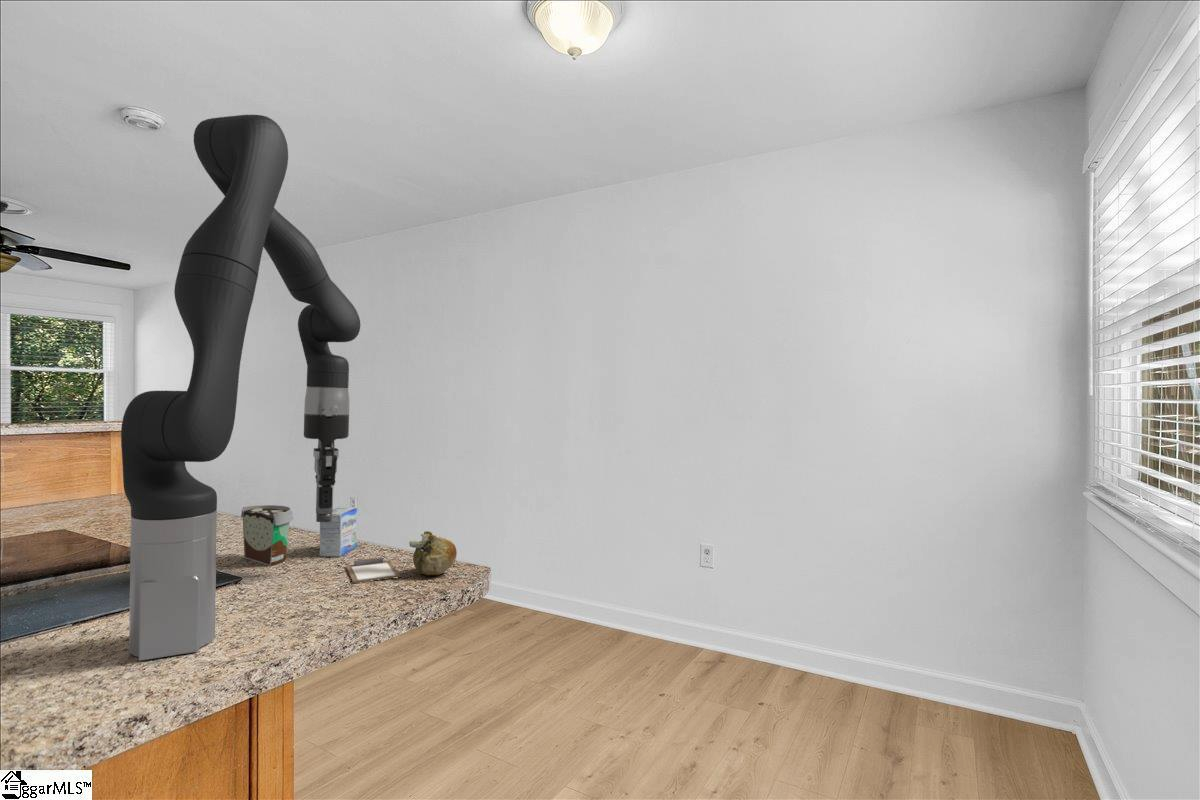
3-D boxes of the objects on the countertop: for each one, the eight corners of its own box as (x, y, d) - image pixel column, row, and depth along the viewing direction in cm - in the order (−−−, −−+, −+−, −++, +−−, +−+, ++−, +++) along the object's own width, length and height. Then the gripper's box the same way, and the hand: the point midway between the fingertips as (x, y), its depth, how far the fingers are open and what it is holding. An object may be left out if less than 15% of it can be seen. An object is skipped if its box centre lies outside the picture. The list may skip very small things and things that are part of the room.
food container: (305, 560, 118) (306, 509, 118) (274, 567, 113) (275, 514, 113) (271, 550, 125) (271, 502, 125) (240, 557, 120) (241, 506, 120)
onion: (447, 581, 107) (448, 536, 107) (404, 578, 108) (405, 534, 108) (461, 568, 115) (462, 527, 115) (421, 566, 116) (422, 525, 116)
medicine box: (340, 557, 121) (341, 514, 121) (318, 557, 121) (319, 514, 121) (357, 547, 129) (358, 507, 129) (336, 546, 129) (337, 506, 129)
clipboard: (400, 577, 109) (400, 571, 109) (353, 583, 105) (353, 577, 105) (389, 562, 118) (389, 556, 118) (345, 567, 114) (345, 561, 114)
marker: (333, 521, 110) (335, 458, 110) (315, 522, 108) (317, 458, 108) (332, 518, 112) (333, 457, 112) (314, 519, 111) (316, 457, 111)
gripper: (302, 411, 115) (299, 502, 115) (306, 413, 102) (303, 514, 102) (344, 412, 118) (342, 500, 118) (353, 413, 106) (351, 511, 106)
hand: (324, 506), depth 110 cm, fingers closed on marker, 2 cm apart
